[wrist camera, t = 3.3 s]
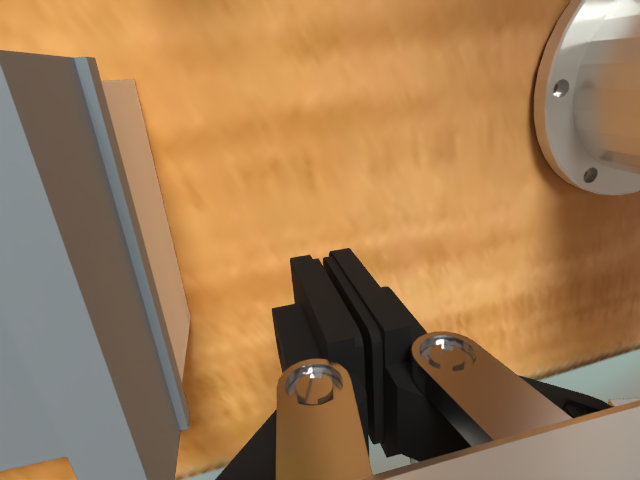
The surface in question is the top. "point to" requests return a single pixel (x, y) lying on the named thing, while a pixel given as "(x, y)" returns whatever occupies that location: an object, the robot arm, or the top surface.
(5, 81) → the mailer lid
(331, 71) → the top surface
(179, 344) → the white open box
